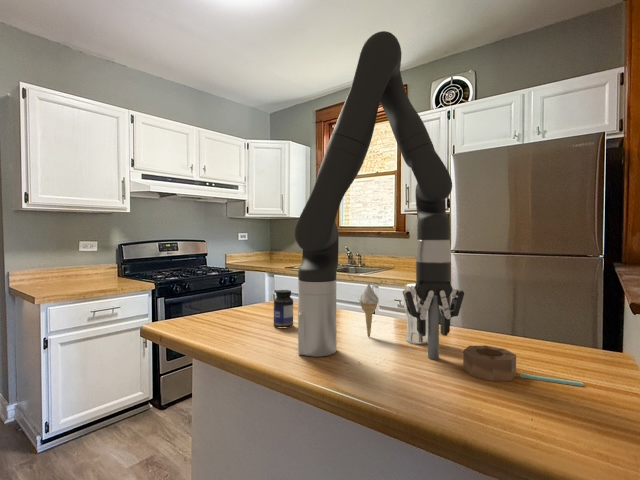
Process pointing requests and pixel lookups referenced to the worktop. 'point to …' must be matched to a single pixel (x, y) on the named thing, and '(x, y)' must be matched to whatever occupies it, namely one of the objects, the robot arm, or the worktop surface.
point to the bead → (489, 363)
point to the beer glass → (414, 321)
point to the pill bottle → (283, 309)
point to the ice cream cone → (368, 305)
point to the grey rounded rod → (433, 330)
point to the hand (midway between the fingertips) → (433, 334)
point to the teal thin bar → (551, 379)
